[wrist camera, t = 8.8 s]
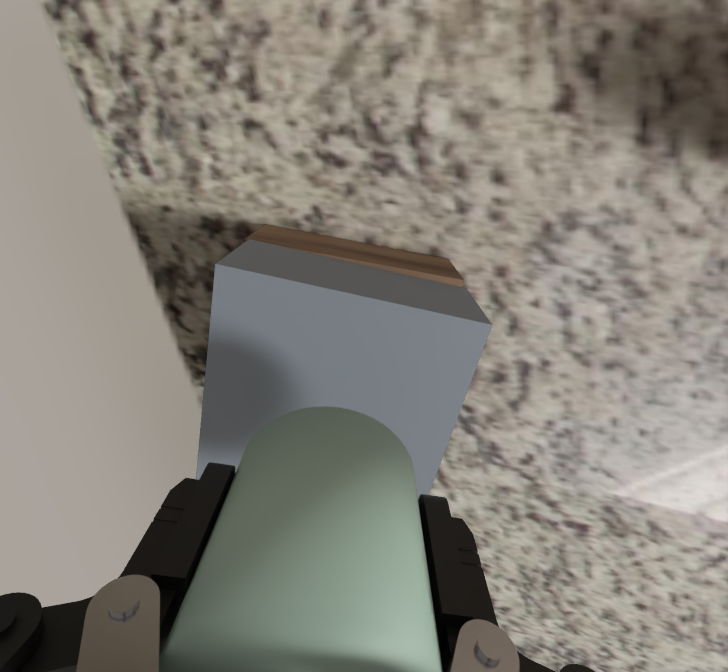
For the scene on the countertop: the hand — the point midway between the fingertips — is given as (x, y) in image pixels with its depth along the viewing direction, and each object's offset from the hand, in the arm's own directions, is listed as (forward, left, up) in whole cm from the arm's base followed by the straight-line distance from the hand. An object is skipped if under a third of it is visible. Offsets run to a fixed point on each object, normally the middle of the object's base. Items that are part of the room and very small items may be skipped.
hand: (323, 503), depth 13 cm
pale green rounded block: (0, 0, -1) cm, 1 cm away
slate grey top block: (0, 0, -9) cm, 9 cm away
